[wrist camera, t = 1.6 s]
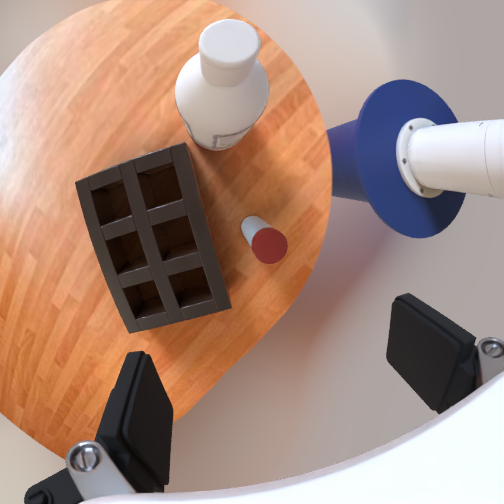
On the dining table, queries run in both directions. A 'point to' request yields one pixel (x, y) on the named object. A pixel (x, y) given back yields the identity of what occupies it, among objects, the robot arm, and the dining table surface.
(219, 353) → the dining table surface
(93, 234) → the rack
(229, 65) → the bath foam
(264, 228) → the test tube
